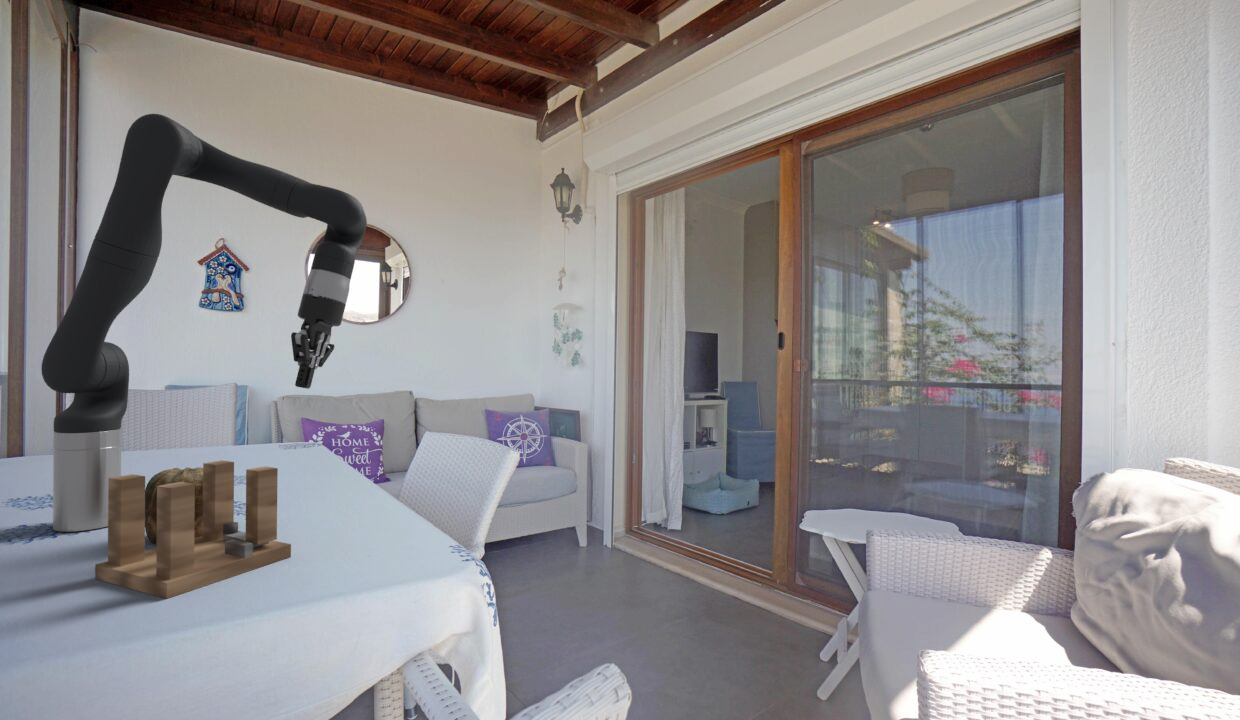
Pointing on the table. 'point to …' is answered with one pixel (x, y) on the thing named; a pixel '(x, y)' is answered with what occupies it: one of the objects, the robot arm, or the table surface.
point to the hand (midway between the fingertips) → (302, 387)
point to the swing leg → (257, 508)
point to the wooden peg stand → (178, 536)
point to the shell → (167, 478)
